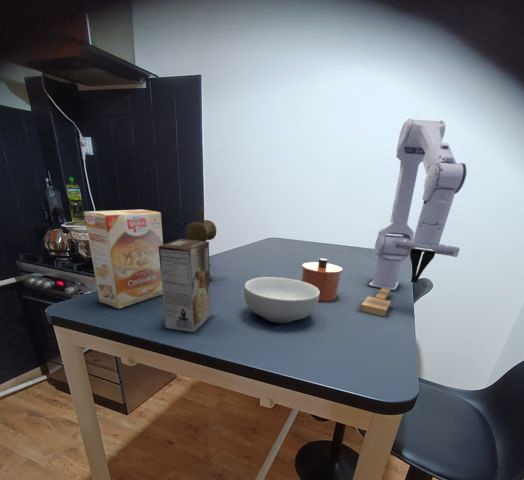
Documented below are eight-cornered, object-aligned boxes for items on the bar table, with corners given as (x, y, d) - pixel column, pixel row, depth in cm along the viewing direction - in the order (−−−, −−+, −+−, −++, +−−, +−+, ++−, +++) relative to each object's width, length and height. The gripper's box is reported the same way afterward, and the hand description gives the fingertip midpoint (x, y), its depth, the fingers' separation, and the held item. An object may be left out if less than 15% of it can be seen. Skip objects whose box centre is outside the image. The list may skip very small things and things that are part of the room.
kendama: (187, 283, 91) (184, 207, 81) (199, 274, 99) (197, 205, 90) (207, 285, 90) (206, 209, 81) (217, 277, 98) (218, 207, 89)
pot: (307, 287, 95) (311, 262, 91) (340, 294, 91) (345, 268, 87) (294, 296, 87) (297, 268, 83) (329, 304, 83) (334, 275, 79)
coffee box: (183, 312, 71) (179, 238, 64) (210, 316, 70) (210, 241, 63) (164, 328, 63) (157, 245, 56) (194, 333, 62) (191, 249, 55)
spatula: (374, 292, 95) (375, 286, 94) (395, 296, 93) (397, 290, 92) (360, 311, 80) (361, 303, 79) (384, 316, 78) (386, 308, 77)
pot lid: (309, 264, 92) (311, 253, 91) (346, 270, 88) (348, 259, 86) (295, 271, 83) (296, 259, 82) (335, 278, 79) (337, 266, 78)
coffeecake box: (119, 309, 70) (104, 214, 61) (98, 302, 73) (81, 210, 64) (168, 293, 82) (162, 211, 73) (148, 287, 85) (140, 208, 76)
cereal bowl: (305, 338, 64) (310, 304, 60) (230, 322, 68) (231, 290, 65) (321, 311, 78) (326, 283, 75) (258, 299, 82) (260, 272, 79)
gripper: (396, 221, 72) (381, 279, 79) (467, 228, 67) (446, 291, 73) (399, 219, 78) (386, 274, 84) (466, 226, 72) (446, 284, 79)
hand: (414, 281), depth 79 cm, fingers closed
